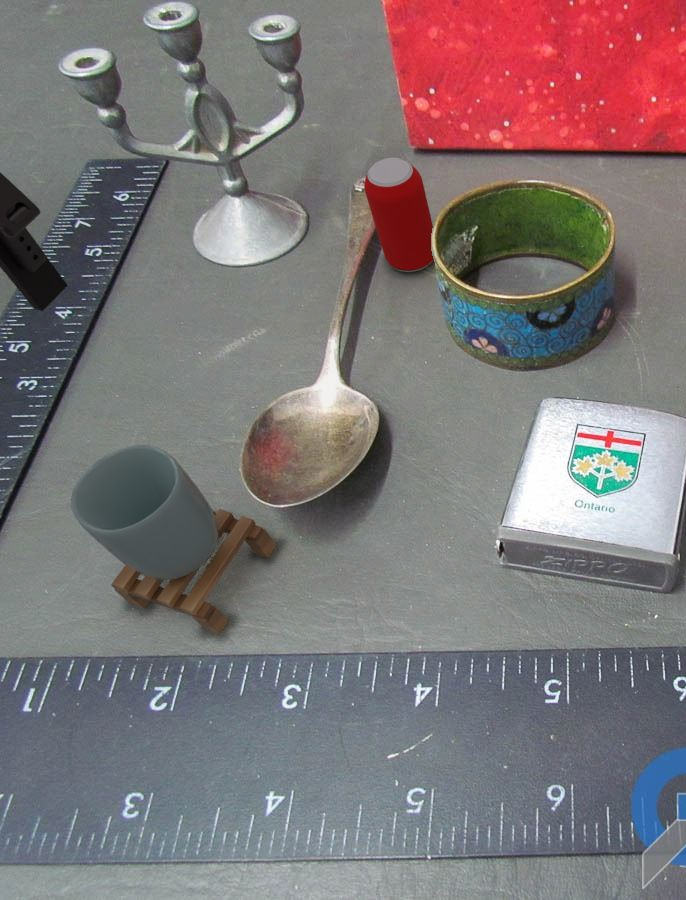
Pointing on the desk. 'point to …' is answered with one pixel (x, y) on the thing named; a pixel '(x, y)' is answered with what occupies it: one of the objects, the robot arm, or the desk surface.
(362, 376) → the desk surface
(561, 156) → the desk surface
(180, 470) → the cup
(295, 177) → the desk surface
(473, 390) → the desk surface
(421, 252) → the beverage can
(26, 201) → the robot arm
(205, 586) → the rack
